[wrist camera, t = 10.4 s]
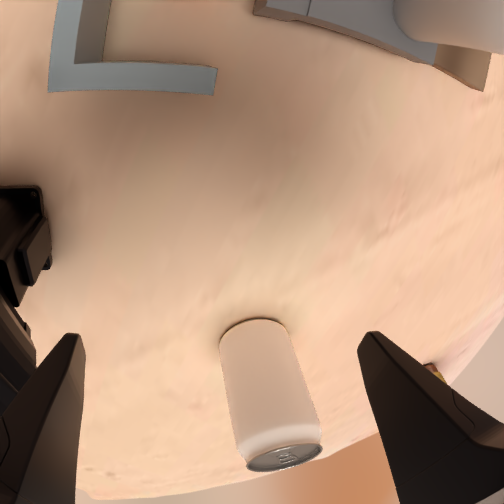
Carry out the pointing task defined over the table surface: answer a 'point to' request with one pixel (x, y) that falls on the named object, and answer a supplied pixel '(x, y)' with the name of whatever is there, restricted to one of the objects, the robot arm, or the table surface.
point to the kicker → (401, 22)
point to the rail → (463, 64)
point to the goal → (111, 72)
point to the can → (268, 397)
